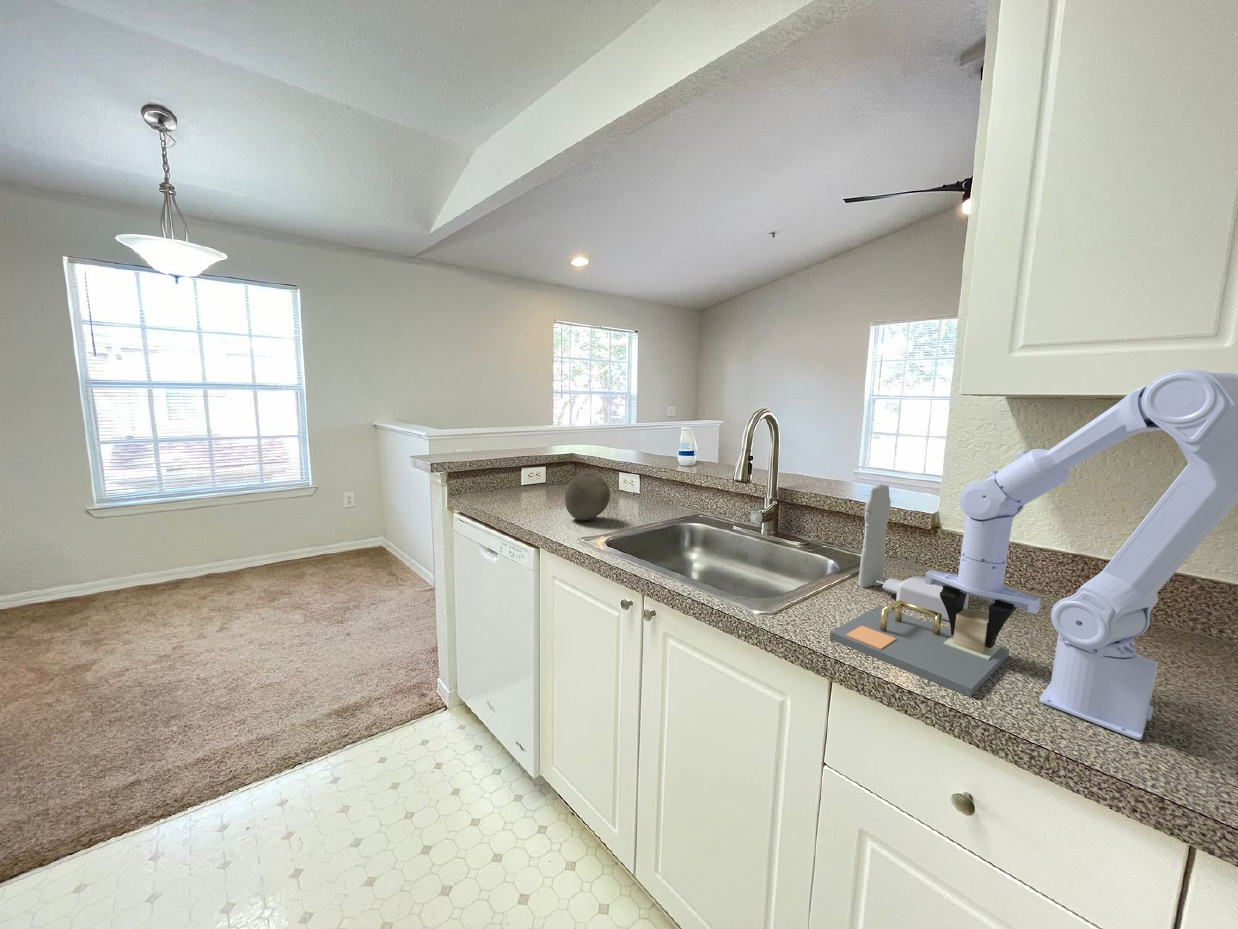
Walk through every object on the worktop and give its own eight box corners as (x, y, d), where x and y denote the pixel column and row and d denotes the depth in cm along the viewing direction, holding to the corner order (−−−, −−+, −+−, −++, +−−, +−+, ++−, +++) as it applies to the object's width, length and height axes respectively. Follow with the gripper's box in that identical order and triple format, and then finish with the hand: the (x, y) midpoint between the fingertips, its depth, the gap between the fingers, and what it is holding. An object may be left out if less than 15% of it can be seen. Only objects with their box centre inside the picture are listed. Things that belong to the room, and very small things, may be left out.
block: (990, 646, 78) (994, 616, 77) (982, 654, 75) (986, 623, 75) (961, 636, 81) (965, 608, 80) (952, 643, 78) (956, 614, 78)
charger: (886, 586, 107) (967, 611, 95) (866, 596, 101) (949, 624, 89) (888, 565, 106) (970, 588, 94) (868, 574, 100) (952, 599, 89)
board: (1008, 656, 78) (1009, 648, 78) (970, 697, 67) (971, 687, 66) (878, 611, 93) (879, 604, 93) (829, 638, 82) (830, 630, 82)
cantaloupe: (567, 526, 148) (568, 477, 146) (561, 515, 161) (562, 470, 159) (613, 525, 151) (614, 477, 149) (603, 514, 165) (604, 470, 162)
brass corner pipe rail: (940, 634, 82) (943, 612, 81) (924, 646, 78) (926, 624, 77) (896, 619, 87) (898, 598, 87) (878, 629, 83) (880, 608, 83)
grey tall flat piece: (869, 591, 103) (879, 488, 100) (850, 585, 106) (859, 485, 103) (890, 580, 110) (900, 483, 107) (871, 574, 113) (880, 480, 110)
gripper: (1050, 565, 73) (1037, 651, 75) (940, 541, 84) (931, 616, 86) (1038, 575, 69) (1024, 666, 71) (923, 548, 80) (914, 627, 82)
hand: (972, 639), depth 78 cm, fingers closed on block, 4 cm apart
